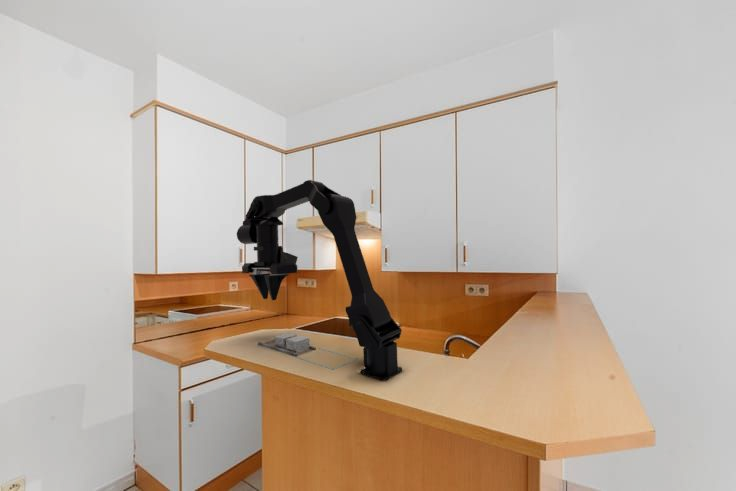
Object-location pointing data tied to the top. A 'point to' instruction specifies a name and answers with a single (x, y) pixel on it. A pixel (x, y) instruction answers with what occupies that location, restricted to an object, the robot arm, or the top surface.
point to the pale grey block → (283, 340)
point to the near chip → (297, 344)
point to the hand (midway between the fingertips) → (269, 299)
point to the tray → (329, 367)
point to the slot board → (272, 346)
